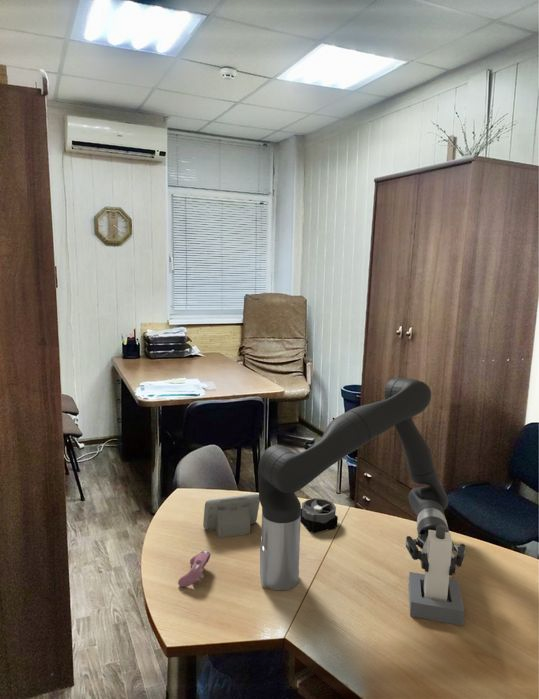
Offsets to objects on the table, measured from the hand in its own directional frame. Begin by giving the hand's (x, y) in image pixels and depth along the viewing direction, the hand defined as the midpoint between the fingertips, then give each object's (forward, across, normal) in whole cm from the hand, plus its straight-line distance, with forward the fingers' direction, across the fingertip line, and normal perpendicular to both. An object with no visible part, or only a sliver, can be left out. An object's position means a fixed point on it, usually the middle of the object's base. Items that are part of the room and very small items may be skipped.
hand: (439, 570), depth 108 cm
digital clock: (-21, -54, +11) cm, 59 cm away
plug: (-3, 0, +10) cm, 10 cm away
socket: (-3, 0, +10) cm, 11 cm away
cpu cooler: (-31, -31, +11) cm, 45 cm away
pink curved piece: (+2, -56, +11) cm, 57 cm away
